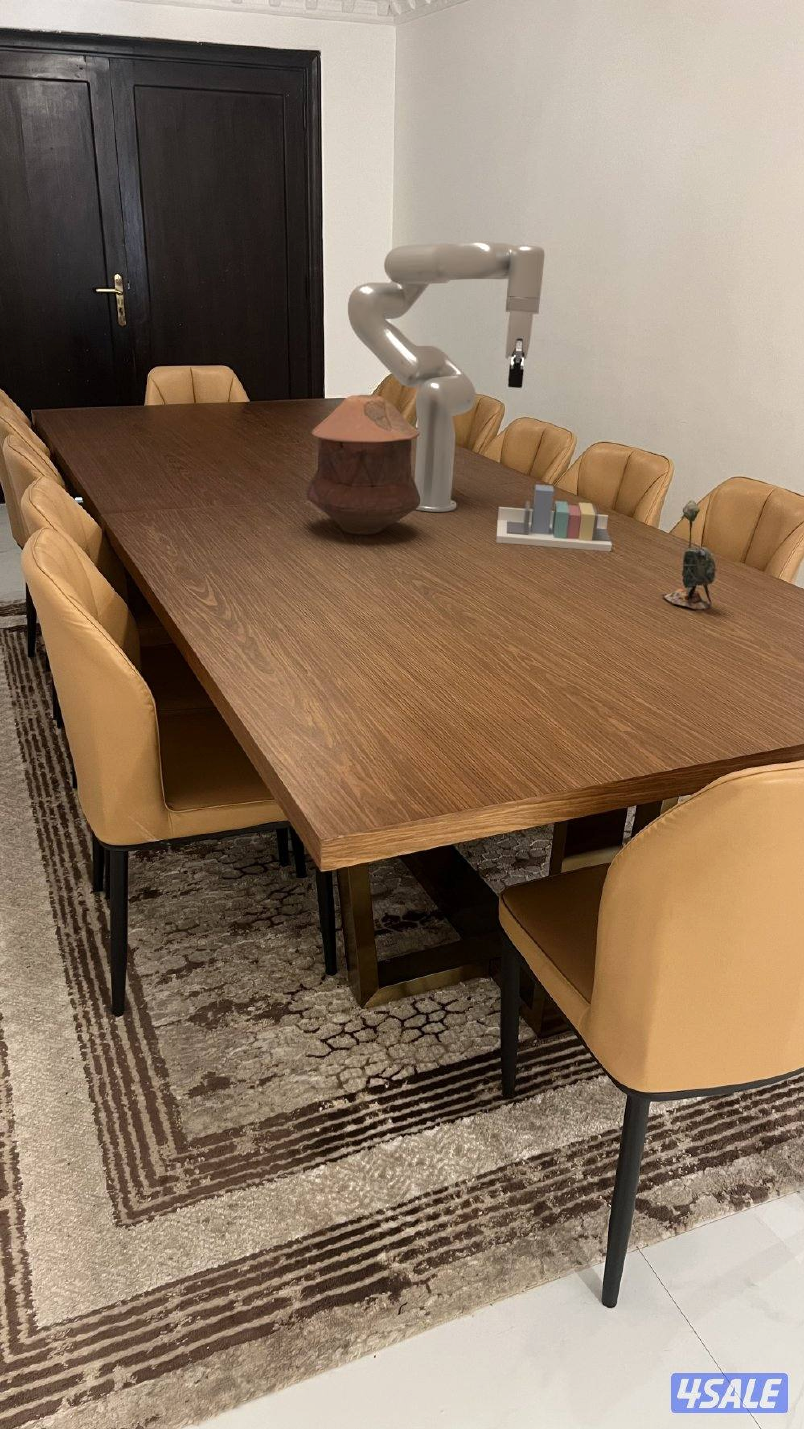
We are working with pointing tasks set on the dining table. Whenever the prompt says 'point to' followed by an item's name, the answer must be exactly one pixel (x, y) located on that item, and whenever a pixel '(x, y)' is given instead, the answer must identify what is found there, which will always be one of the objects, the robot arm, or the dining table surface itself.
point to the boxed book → (542, 509)
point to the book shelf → (544, 537)
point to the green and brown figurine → (694, 570)
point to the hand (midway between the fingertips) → (514, 384)
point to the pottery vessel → (364, 465)
